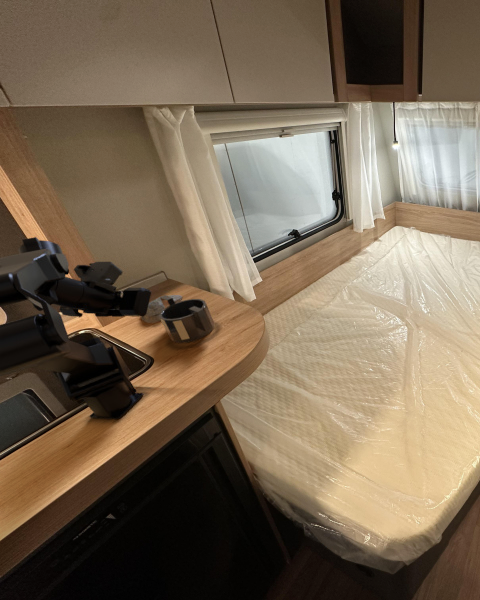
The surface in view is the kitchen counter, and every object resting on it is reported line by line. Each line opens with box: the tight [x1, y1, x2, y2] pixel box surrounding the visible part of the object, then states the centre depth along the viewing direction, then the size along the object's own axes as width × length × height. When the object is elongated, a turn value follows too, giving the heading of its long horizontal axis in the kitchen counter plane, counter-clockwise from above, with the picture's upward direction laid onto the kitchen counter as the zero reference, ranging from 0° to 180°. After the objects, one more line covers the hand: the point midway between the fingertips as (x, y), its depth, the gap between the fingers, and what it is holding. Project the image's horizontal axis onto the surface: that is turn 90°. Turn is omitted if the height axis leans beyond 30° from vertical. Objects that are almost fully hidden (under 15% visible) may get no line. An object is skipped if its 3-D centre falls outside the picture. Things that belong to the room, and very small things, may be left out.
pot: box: [159, 294, 216, 344], centre depth 84 cm, size 11×18×9 cm, turn 60°
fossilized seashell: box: [140, 294, 184, 324], centre depth 96 cm, size 11×11×7 cm
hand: (139, 310), depth 78 cm, fingers closed
